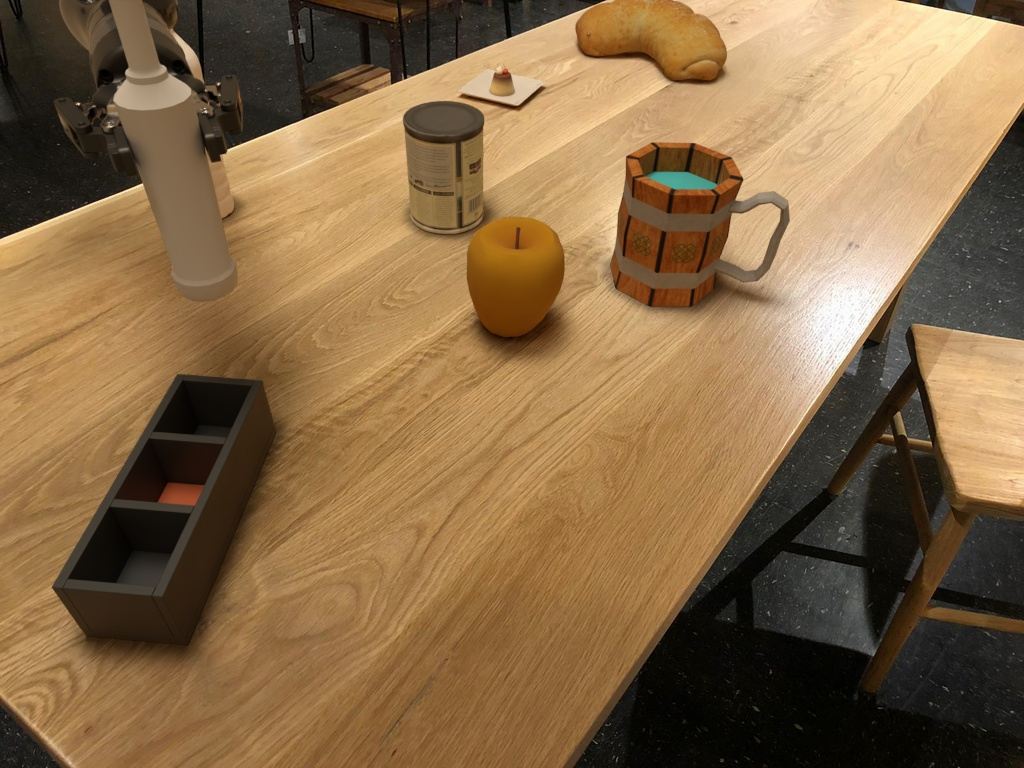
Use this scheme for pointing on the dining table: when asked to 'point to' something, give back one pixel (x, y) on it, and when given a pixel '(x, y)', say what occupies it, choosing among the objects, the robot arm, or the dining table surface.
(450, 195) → the coffee can
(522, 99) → the dessert
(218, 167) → the water bottle
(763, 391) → the dining table surface
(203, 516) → the rack
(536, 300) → the apple
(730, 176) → the mug
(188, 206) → the bottle
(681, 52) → the bread
